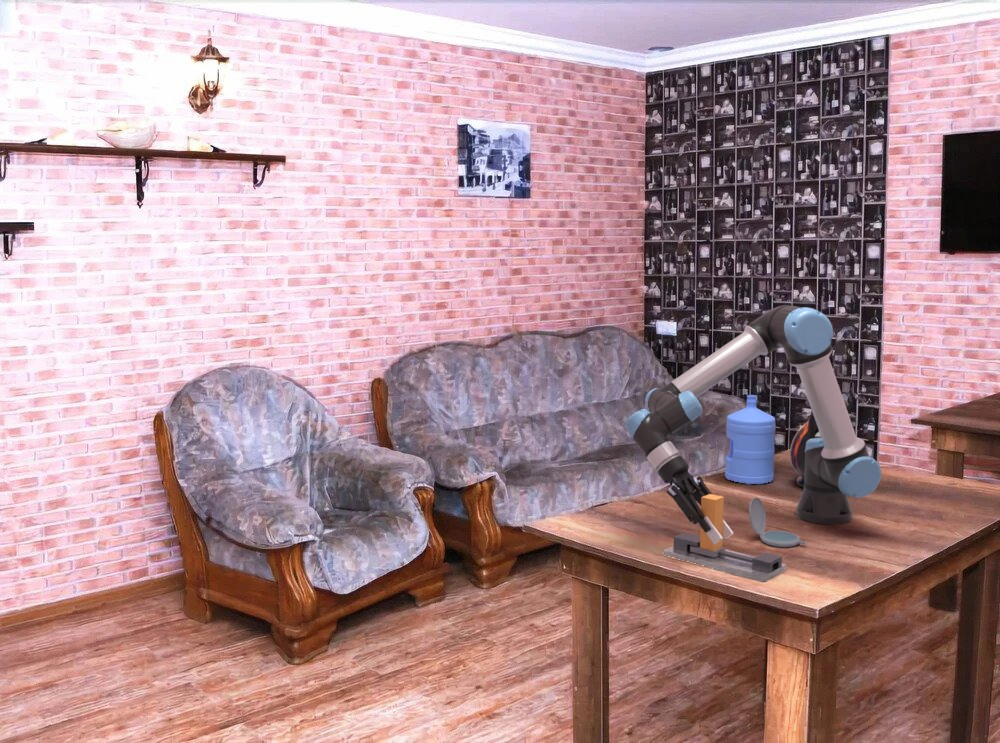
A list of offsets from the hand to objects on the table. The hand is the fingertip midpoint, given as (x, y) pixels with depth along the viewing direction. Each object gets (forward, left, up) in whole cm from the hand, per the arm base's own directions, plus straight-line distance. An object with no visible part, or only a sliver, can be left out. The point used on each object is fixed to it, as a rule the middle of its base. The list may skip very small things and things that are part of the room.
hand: (723, 538), depth 245 cm
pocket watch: (-14, -20, -7) cm, 26 cm away
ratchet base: (0, 0, -6) cm, 6 cm away
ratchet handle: (-2, +1, -4) cm, 5 cm away
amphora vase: (-31, -81, -6) cm, 87 cm away
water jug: (-8, -86, -6) cm, 87 cm away
